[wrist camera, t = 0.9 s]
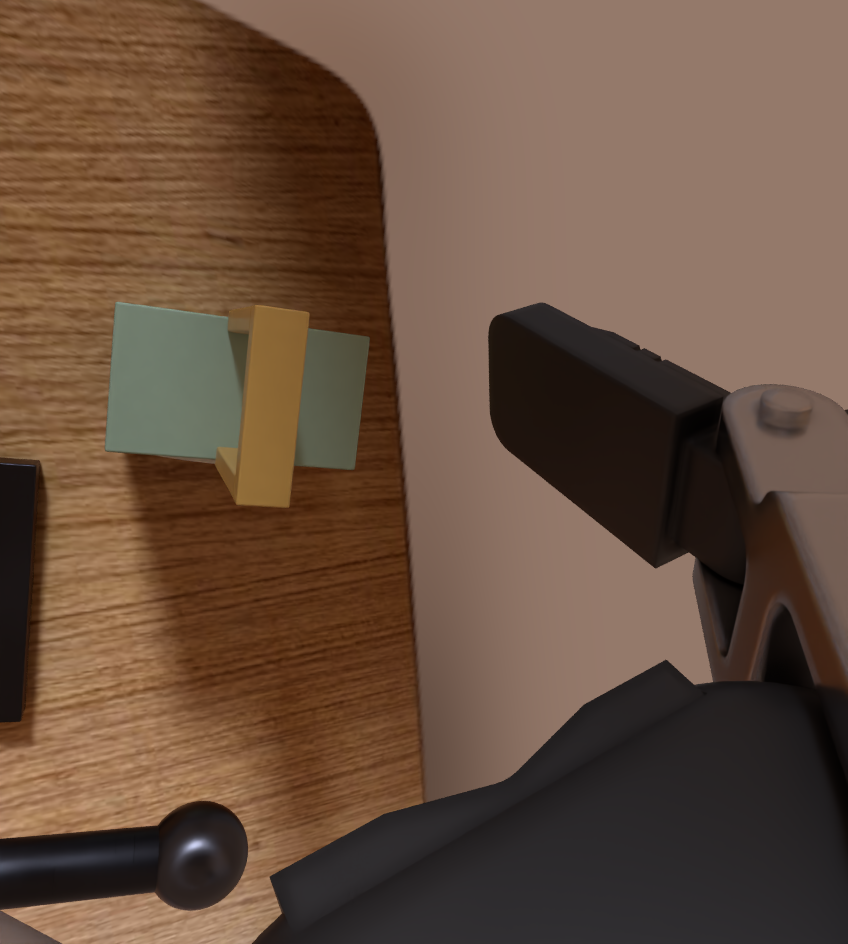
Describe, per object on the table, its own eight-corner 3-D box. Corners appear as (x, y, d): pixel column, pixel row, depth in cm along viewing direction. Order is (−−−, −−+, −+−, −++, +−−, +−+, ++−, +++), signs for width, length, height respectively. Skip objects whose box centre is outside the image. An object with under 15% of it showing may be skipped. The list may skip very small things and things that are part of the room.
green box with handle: (122, 304, 30) (109, 282, 16) (304, 329, 32) (433, 330, 18) (114, 424, 30) (92, 508, 16) (292, 440, 33) (408, 523, 19)
